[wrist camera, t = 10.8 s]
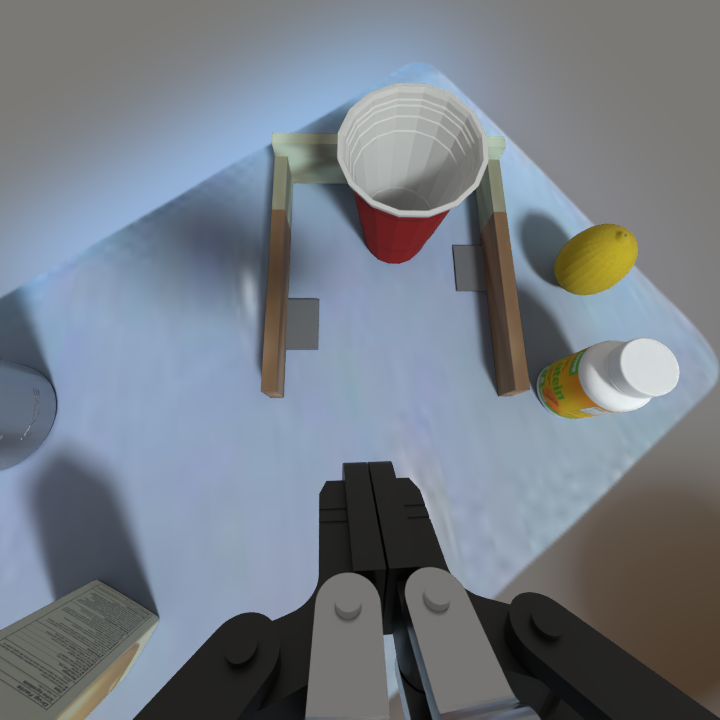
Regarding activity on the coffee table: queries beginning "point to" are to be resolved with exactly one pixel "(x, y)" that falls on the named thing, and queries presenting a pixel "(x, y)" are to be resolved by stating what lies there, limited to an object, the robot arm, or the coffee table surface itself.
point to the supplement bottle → (607, 378)
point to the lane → (320, 165)
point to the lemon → (596, 259)
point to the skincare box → (70, 654)
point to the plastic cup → (409, 163)
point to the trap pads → (306, 311)
